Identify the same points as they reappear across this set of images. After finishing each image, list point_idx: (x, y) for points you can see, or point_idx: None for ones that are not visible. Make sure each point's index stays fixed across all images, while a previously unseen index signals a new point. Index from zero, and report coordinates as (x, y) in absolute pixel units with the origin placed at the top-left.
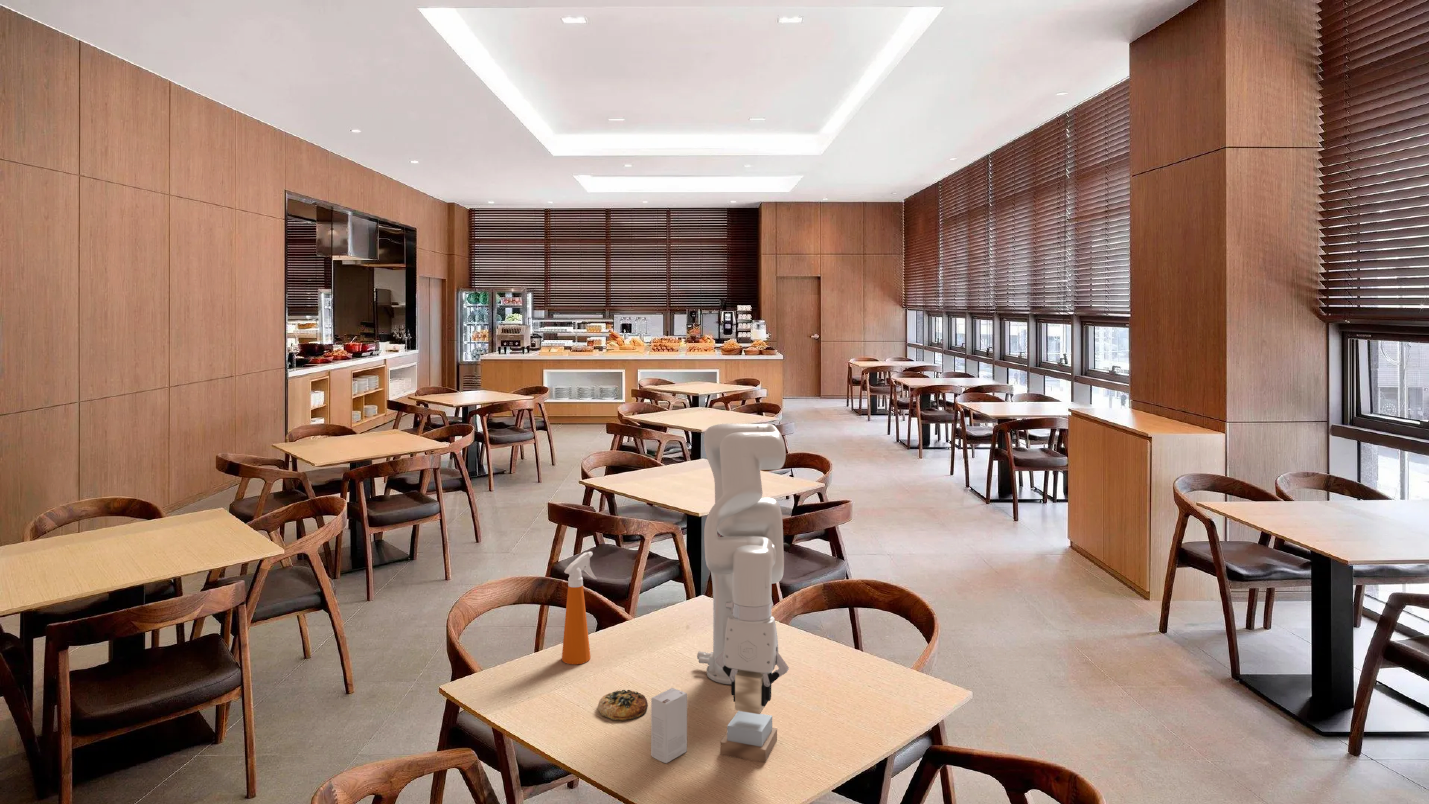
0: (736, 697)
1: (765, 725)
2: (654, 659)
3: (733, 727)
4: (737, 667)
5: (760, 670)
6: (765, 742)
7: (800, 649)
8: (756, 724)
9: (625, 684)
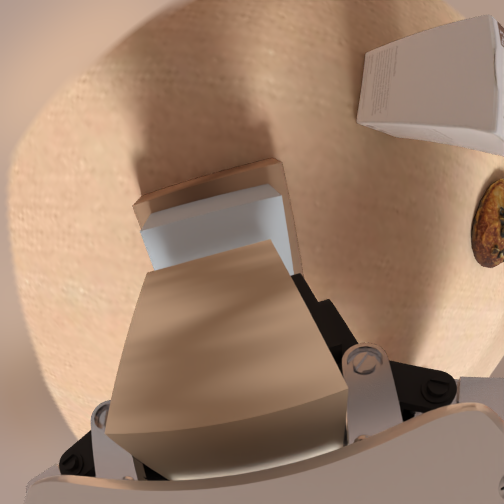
0: (279, 274)
1: None
2: (469, 359)
3: (254, 200)
4: (354, 471)
5: (84, 499)
6: None
7: None
8: None
9: (496, 288)
